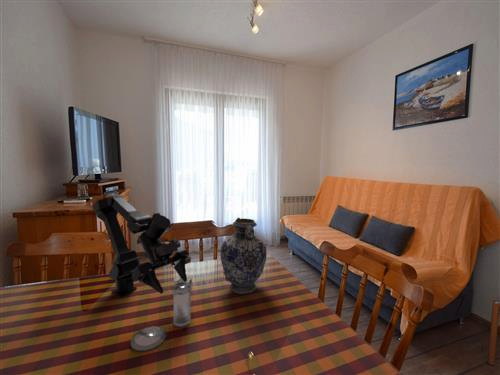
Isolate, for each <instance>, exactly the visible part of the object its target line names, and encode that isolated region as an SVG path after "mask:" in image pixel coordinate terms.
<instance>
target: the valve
mask: <svg viewBox="0 0 500 375" xmlns="http://www.w3.org/2000/svg"><path fill="white" fill-rule="evenodd" d="M191 261H192V257H191V256H188V258H187V259H186V261H185V265H187V264H189V263H190V262H191ZM187 275H188V273H187V272H186V276H187ZM182 282H184V281H183V279H182V278H181V277H180V276H175V278H174V280H173V286H174V285H176V284H178V283H182ZM186 283H189V284H190V285H191V286H193V278H189V277H187V281H186Z"/></svg>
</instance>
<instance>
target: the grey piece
mask: <svg viewBox="0 0 500 375" xmlns="http://www.w3.org/2000/svg"><path fill="white" fill-rule="evenodd" d="M191 287H192V285H190V284H189V283H186V282H182V283H178V284H176V285H174V284H173V286H172V292H173V320H172V321H173V322H172V324H173V326H174V327H176V328H184V327H186V326H189V325H190V324H191Z"/></svg>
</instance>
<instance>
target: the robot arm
mask: <svg viewBox="0 0 500 375" xmlns="http://www.w3.org/2000/svg"><path fill="white" fill-rule="evenodd" d="M92 210H93V212H94V213H95V215H96V218H98V219H100V221H102V222H103V224H104V227H105V229H106V233H107V235H108V238H109V241H110V244H111V247H112V251H113V253H114V257H113V260H112V267H111V269H110V271H109V272H108V274H109V278H110V279H111V280H114V282H115V283H114V285H115V286H114V287H115V289H113V290H111V293H112V294H115V295H117V296H120V297H124V296H127V294H130V293H132V292H134V291H135V290H137V289H138V288H137V286H135V284H134V283H136V282H138V283H139V284H141V283H143V284H145V285H147V286H148V287H151V289H153V290H155V291H156V292H158V293H159V294H161V295H162V294H163V293H164V288H163V287H162V284H161V283H160V281H159V280H158V279H159V278H157V275H156V270H158V269H160V268H163V267H165V266H166V267H167V266H168V265H173V269H174V270H175V271H176V273H177V274H178V275H179V276H180V277H181V278H182V279H183V281H184V282H186V281H187V278H188V277H187V276H186V273H187V271H186V264H185V261H186V259H187V258H188V257H190V253H189V251H188V249H182V250H181V249H180V250H179V248H181V242H180V240H179V239H178V238H176V237H175V238H173V239H171V240H170V242H169V243H165V242H162V241H161V238H163V236H164V235H165V234H166V232H168V230H169V228H170V227H171V220H170V219H169V218H167V216H165V215H162V214H160V212H156V213H155V212H154V213H153V214H152V216H151V215H149V214H148V213H146V212H142V211H138V210H137V209H136V208H135V207H134V206H133V205H132V204H130V203H129V201H127V200H126V199H125V197H124V196H123V195H122V194H114V195H113V194H112V195H109V196H106V197H104V198H102V199H97V200H95V201H94V203H93V204H92ZM118 214H119V215H120V216H121V217H122V218H123V219H124V220H125V221H126V227H127V229H128V230H129V232H130V233H131V234H133V235H136V234H140V235H138V236H137V240H136V244H137V245H141V246H142V249H143V250H144V252H145V255H144V257H145V259H147V258H148V259H149V261H146V262H144V263H141V264H140V259H139V257H138V255H137V252H136V250H134V249H132V250H131V249H130V248H129V247H128V244H127V240H126V238H125V235H124V234H123V233H124V232H123V230H122V227H121V224H120V221H119V219H118ZM173 252H175V253H174V254H173ZM172 255H173V256H172ZM179 276H178V277H179Z"/></svg>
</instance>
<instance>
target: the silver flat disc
mask: <svg viewBox="0 0 500 375" xmlns="http://www.w3.org/2000/svg"><path fill="white" fill-rule="evenodd" d="M166 336H167V332H166V329H164V328H163V327H162V326H149V327H144V328H142V329H140V330H139V331H137V332H136V333H135V334H134V335H133V336H132V337H131V340H130V347H131V349H133V351H136V352H143V353H144V352H147V351H148V352H149V351H152V350H155V349H156V348H158V347H159V346H161V345H162V344H163V343H164V342H165V339H166Z"/></svg>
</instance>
